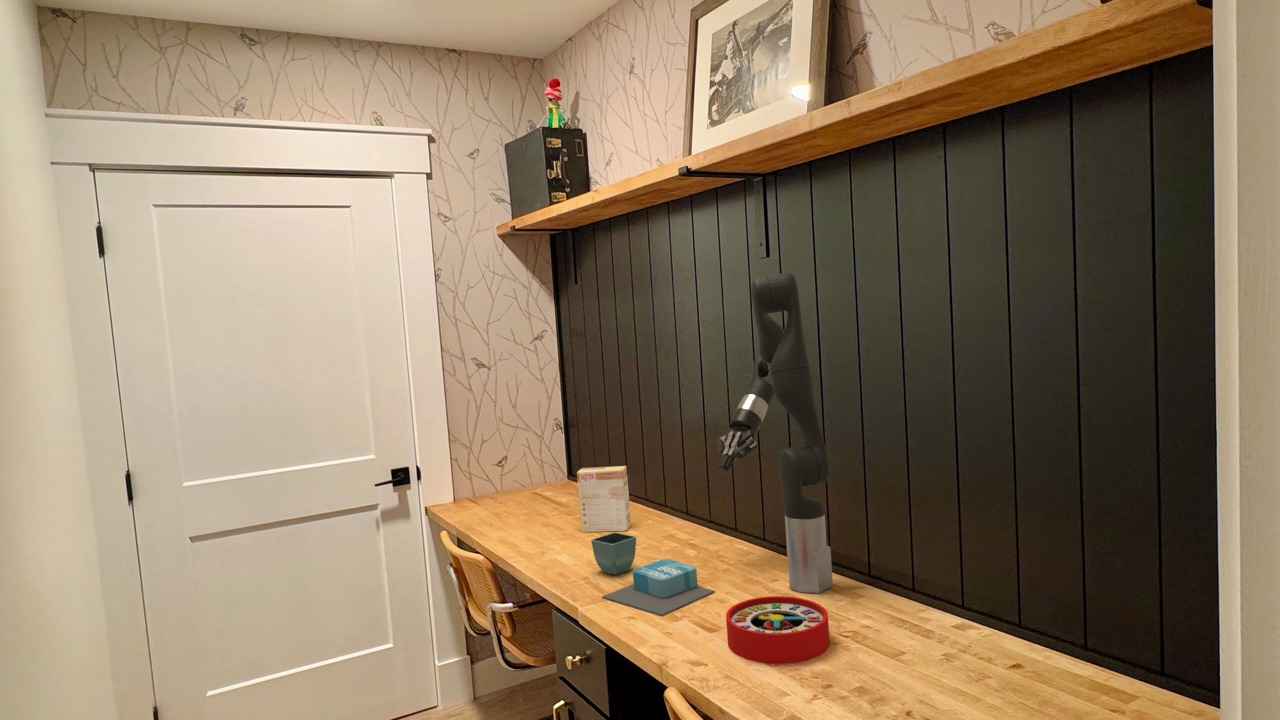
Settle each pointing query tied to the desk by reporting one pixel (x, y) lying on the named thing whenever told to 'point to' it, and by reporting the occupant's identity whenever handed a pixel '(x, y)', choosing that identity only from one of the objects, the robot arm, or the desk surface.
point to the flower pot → (614, 552)
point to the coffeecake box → (604, 499)
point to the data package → (665, 578)
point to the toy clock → (777, 629)
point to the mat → (657, 599)
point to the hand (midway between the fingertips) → (723, 469)
